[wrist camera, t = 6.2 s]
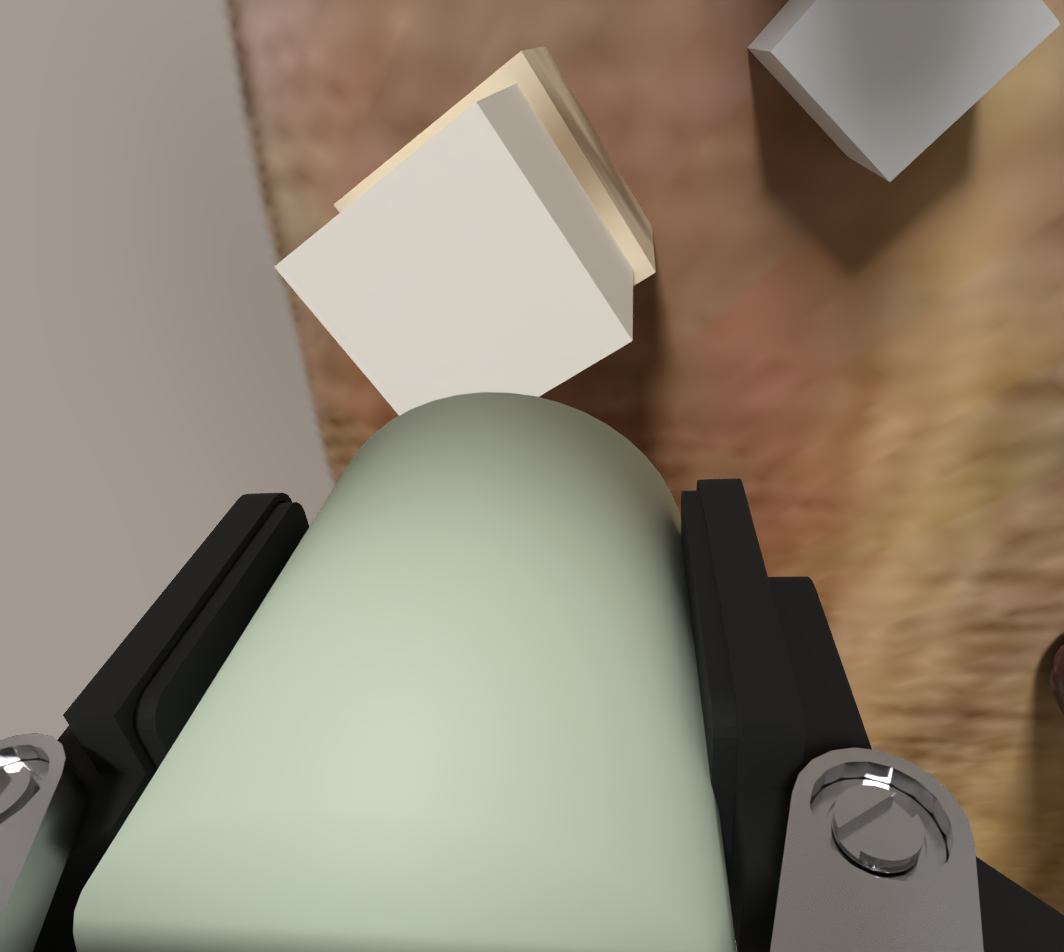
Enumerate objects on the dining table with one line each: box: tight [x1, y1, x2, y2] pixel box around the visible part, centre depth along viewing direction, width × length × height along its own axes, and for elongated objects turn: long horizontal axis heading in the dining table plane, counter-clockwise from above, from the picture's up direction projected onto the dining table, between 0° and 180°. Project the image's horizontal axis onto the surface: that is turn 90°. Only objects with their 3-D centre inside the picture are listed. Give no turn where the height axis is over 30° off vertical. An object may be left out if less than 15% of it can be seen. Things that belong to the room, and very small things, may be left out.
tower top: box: [275, 83, 633, 416], centre depth 20 cm, size 6×6×6 cm
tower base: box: [334, 46, 656, 286], centre depth 25 cm, size 7×7×6 cm
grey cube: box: [748, 0, 1060, 182], centre depth 21 cm, size 5×5×5 cm
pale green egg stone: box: [73, 392, 737, 952], centre depth 8 cm, size 5×5×6 cm
